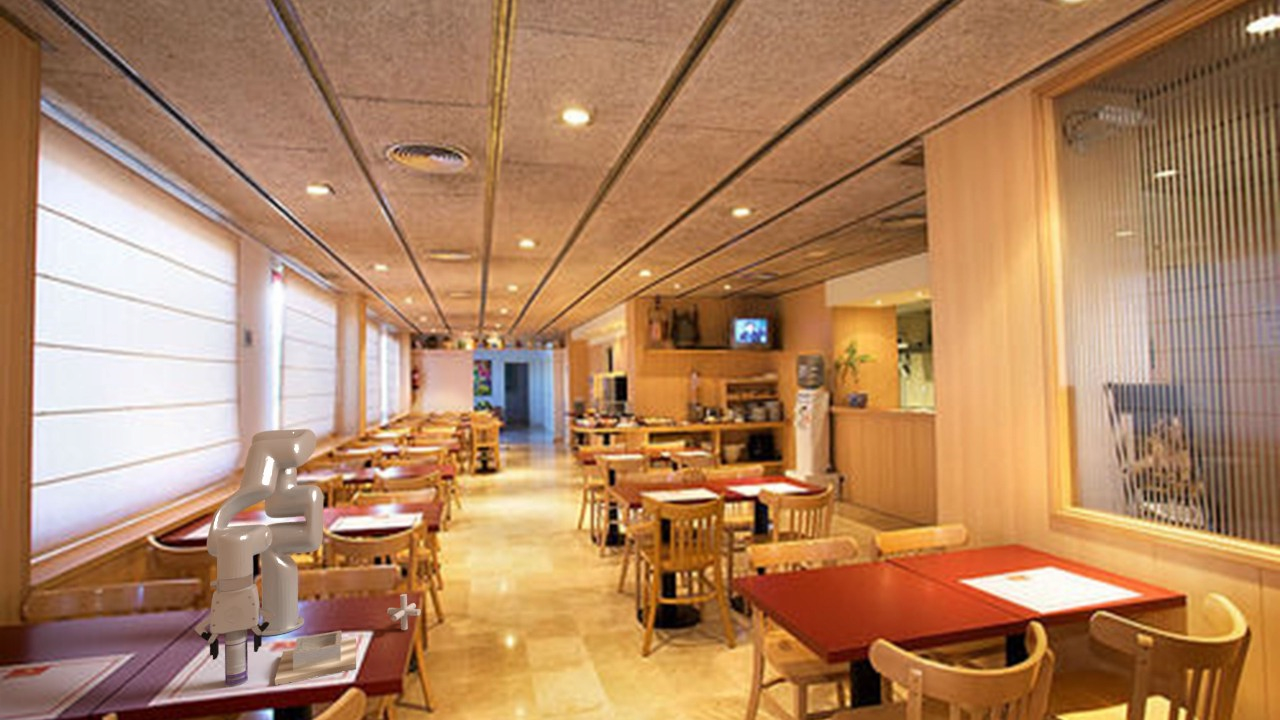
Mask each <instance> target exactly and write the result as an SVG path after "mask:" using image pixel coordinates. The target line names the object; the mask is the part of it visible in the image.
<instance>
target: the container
mask: <svg viewBox="0 0 1280 720" xmlns="http://www.w3.org/2000/svg"><path fill="white" fill-rule="evenodd" d="M248 651H249V650H248V629H247V630H241V631H235V632H229V633H224V657H225V658H224V666H225V667H224V669H225V670H224V671H225V672H224V673H225V676H224V677H225V679H224V681H225V686H226V687H228V688H231V687H237V686H240V685H243V684H245V683H247V681H248V679H249V678H248V677H249V668H248V666H249V665H248V662H249V661H248V660H249V659H248V658H249V657H248V654H249V653H248Z"/></svg>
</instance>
